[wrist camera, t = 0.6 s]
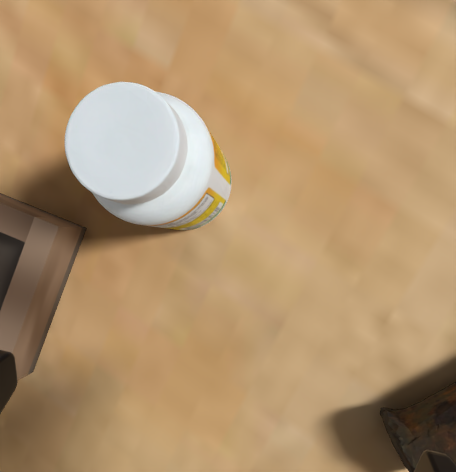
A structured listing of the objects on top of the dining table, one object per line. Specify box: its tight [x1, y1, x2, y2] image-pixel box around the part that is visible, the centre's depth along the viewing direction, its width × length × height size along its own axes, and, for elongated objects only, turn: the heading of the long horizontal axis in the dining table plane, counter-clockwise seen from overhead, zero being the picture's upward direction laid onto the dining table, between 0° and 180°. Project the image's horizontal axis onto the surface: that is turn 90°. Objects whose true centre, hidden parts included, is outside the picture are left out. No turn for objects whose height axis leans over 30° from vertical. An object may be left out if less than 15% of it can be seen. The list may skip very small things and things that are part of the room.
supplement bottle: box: [65, 82, 231, 230], centre depth 19 cm, size 5×5×10 cm
